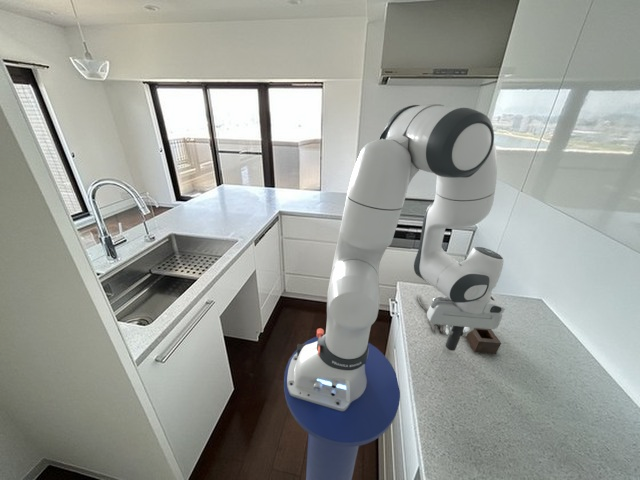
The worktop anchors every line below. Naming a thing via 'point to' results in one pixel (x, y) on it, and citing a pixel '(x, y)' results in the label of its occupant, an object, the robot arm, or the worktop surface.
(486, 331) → the holder
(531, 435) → the worktop surface
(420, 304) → the pliers
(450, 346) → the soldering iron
